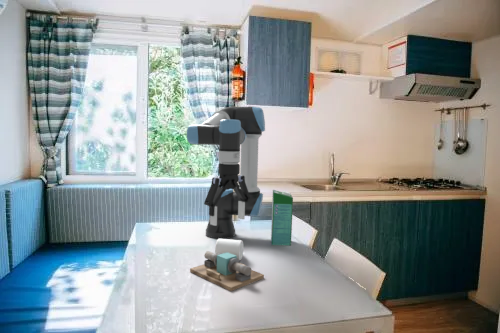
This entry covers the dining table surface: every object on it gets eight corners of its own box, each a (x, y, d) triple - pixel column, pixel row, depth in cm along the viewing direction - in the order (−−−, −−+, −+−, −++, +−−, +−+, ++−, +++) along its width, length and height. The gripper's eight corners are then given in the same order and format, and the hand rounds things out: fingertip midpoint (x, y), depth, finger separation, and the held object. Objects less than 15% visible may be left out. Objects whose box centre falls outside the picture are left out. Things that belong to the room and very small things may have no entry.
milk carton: (291, 245, 162) (293, 192, 160) (271, 245, 162) (273, 192, 160) (289, 240, 171) (291, 190, 169) (270, 239, 171) (272, 189, 169)
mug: (238, 263, 138) (239, 243, 137) (214, 260, 140) (215, 241, 139) (245, 253, 149) (245, 235, 149) (222, 251, 151) (223, 233, 151)
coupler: (216, 271, 125) (216, 255, 125) (226, 267, 129) (226, 252, 128) (226, 275, 121) (226, 259, 121) (236, 272, 125) (237, 255, 125)
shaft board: (190, 271, 127) (190, 253, 127) (222, 261, 139) (223, 244, 138) (231, 291, 112) (231, 270, 111) (264, 278, 123) (264, 258, 123)
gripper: (208, 165, 112) (207, 230, 114) (260, 162, 130) (258, 218, 132) (194, 163, 117) (193, 225, 119) (246, 161, 135) (244, 214, 137)
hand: (227, 221), depth 125 cm, fingers open, 13 cm apart
